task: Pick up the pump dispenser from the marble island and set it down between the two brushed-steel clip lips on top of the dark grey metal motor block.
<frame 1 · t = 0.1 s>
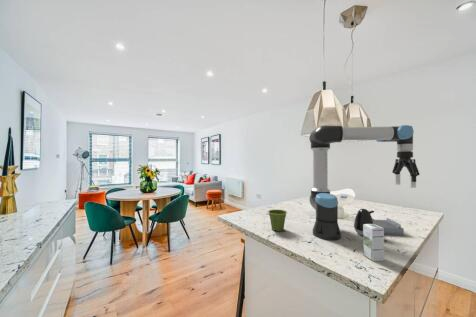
hand: (404, 185, 120), 28 cm above the counter, fingers open, 13 cm apart
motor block: (380, 229, 123), on the counter
syrup box: (373, 258, 88), on the counter
plant pot: (277, 229, 124), on the counter
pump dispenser: (364, 235, 115), on the counter
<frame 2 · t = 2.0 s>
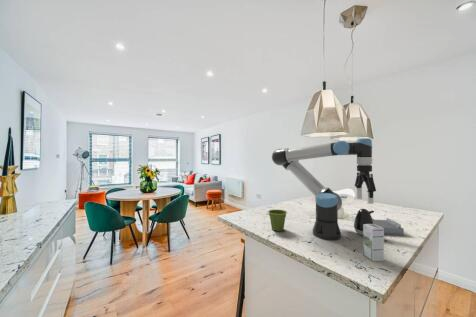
hand: (364, 201, 115), 20 cm above the counter, fingers open, 13 cm apart
nothing on the counter moved.
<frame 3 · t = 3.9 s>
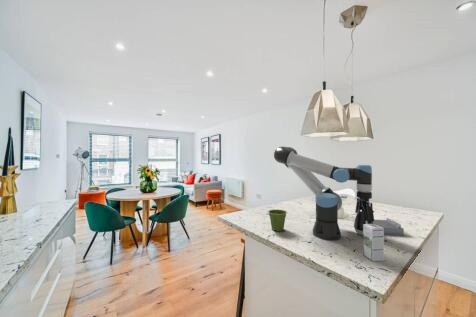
hand: (364, 229, 115), 3 cm above the counter, fingers closed on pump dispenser, 10 cm apart
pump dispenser: (364, 234, 115), on the counter, touching gripper
everything else where it was.
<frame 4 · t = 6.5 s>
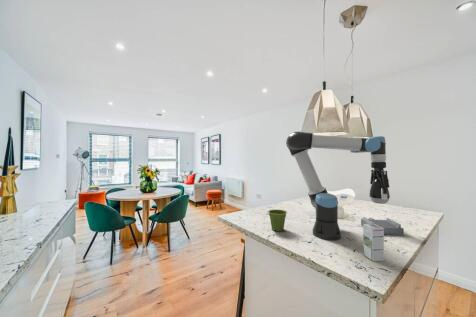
hand: (379, 197, 121), 21 cm above the counter, fingers closed on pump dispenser, 10 cm apart
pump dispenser: (379, 203, 121), point 17 cm above the counter, touching gripper
everything else where it was.
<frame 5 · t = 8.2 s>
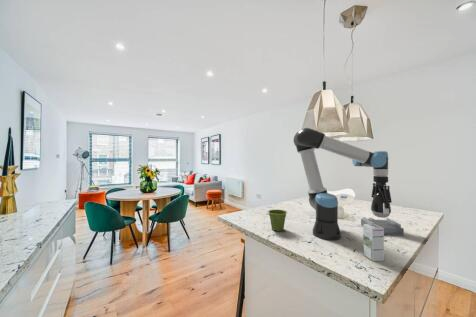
hand: (380, 211, 123), 12 cm above the counter, fingers closed on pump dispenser, 10 cm apart
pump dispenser: (381, 216, 123), point 8 cm above the counter, touching gripper
everything else where it was.
when the fingers open (9 cm above the counter, at t = 9.4 s): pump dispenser drops 1 cm, resting on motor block.
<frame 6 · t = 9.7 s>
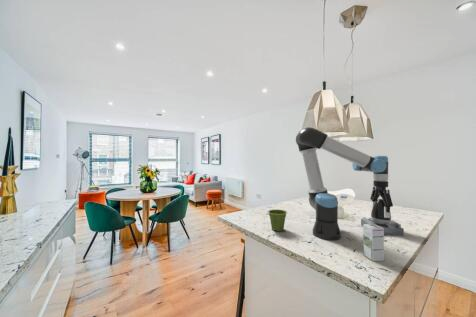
hand: (380, 214, 123), 10 cm above the counter, fingers open, 13 cm apart
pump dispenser: (380, 223, 123), point 4 cm above the counter, touching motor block
everything else where it was.
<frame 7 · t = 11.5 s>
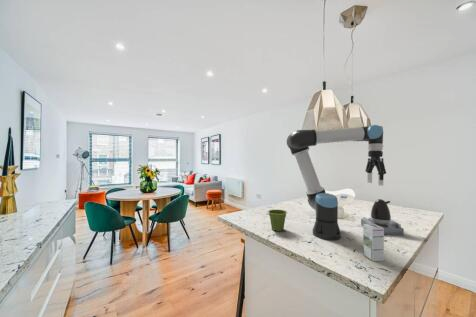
hand: (374, 184, 125), 28 cm above the counter, fingers open, 13 cm apart
nothing on the counter moved.
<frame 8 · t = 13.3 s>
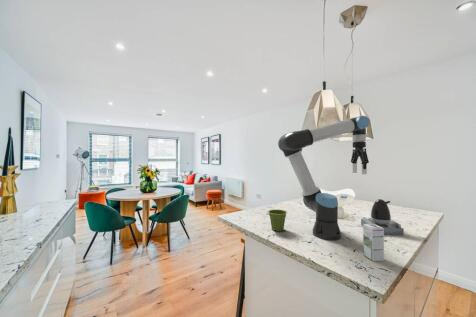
hand: (359, 173, 131), 35 cm above the counter, fingers open, 13 cm apart
nothing on the counter moved.
at the end: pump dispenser inside the target area on the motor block (0.1 cm from its centre), point 3.8 cm above the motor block's base; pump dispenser tilted 0°; the gripper is holding nothing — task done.
